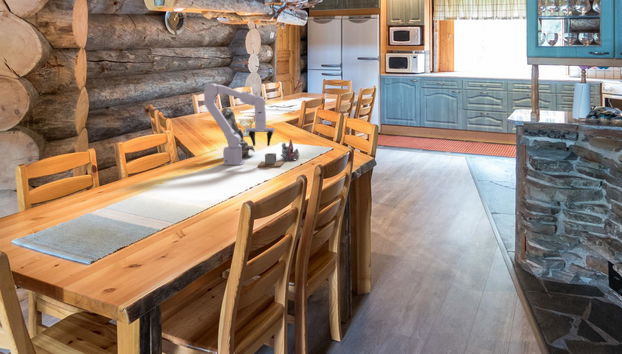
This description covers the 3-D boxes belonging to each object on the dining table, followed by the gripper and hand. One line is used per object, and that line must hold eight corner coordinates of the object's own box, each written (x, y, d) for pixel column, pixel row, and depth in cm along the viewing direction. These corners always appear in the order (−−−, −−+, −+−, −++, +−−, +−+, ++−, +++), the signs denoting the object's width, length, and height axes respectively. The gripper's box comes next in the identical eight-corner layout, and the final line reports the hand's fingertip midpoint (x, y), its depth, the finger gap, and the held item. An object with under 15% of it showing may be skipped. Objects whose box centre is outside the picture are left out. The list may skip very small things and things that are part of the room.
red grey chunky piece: (301, 156, 305) (287, 139, 304) (285, 168, 308) (271, 151, 307) (304, 153, 316) (291, 135, 315) (289, 164, 319) (276, 147, 318)
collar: (265, 164, 294) (264, 155, 292) (267, 162, 298) (266, 153, 297) (274, 164, 293) (274, 155, 292) (276, 162, 298) (276, 153, 297)
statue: (224, 163, 313) (208, 110, 312) (230, 162, 332) (215, 112, 330) (253, 154, 312) (237, 102, 311) (257, 154, 331) (242, 104, 329)
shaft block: (257, 167, 292) (257, 158, 291) (261, 163, 302) (261, 155, 301) (280, 167, 291) (280, 158, 290) (283, 163, 300) (283, 155, 299)
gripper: (245, 121, 295) (246, 146, 298) (272, 121, 293) (273, 147, 296) (248, 119, 301) (249, 144, 304) (275, 119, 300) (275, 144, 303)
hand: (261, 145), depth 301 cm, fingers open, 7 cm apart
